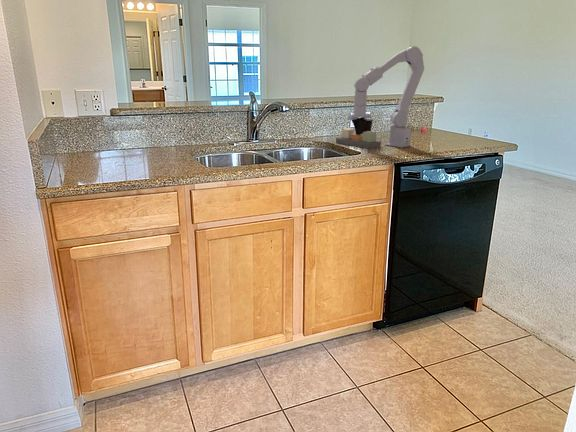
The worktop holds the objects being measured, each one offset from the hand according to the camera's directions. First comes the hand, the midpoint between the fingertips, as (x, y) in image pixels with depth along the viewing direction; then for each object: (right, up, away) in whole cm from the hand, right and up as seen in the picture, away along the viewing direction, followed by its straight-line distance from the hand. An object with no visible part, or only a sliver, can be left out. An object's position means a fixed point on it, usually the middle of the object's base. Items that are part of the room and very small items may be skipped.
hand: (358, 134), depth 209 cm
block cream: (-4, -1, +5) cm, 7 cm away
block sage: (+4, -4, -4) cm, 7 cm away
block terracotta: (0, -4, +1) cm, 4 cm away
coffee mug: (+5, +1, +19) cm, 20 cm away
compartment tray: (0, -5, +2) cm, 5 cm away
